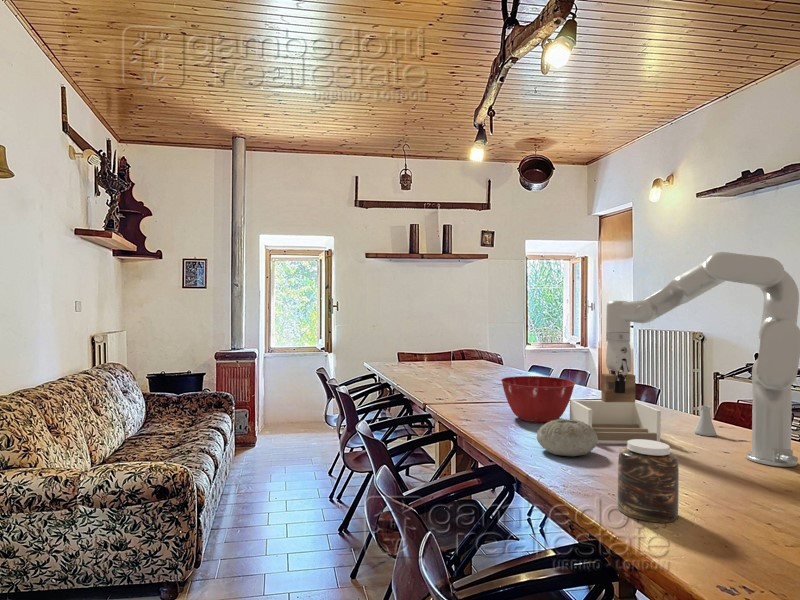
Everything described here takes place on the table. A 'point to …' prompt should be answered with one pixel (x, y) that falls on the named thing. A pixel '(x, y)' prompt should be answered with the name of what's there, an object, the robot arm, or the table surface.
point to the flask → (705, 423)
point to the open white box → (618, 420)
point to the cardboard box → (609, 389)
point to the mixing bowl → (537, 397)
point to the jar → (648, 481)
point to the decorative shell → (567, 437)
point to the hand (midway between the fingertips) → (617, 391)
